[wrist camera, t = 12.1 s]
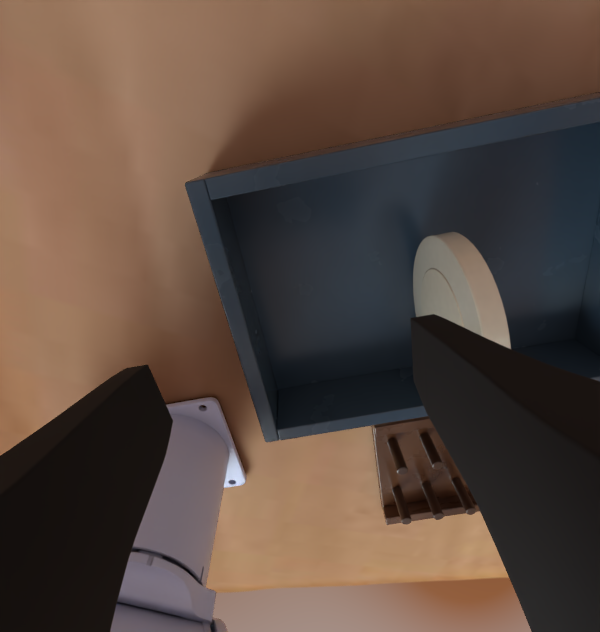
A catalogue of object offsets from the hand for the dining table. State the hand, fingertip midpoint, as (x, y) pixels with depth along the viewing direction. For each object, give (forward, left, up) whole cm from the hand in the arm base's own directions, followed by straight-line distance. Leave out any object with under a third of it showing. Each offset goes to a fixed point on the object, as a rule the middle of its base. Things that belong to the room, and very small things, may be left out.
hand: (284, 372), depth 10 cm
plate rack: (+8, -16, -10) cm, 21 cm away
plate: (+7, -2, -10) cm, 12 cm away
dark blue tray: (+7, -2, -10) cm, 13 cm away
